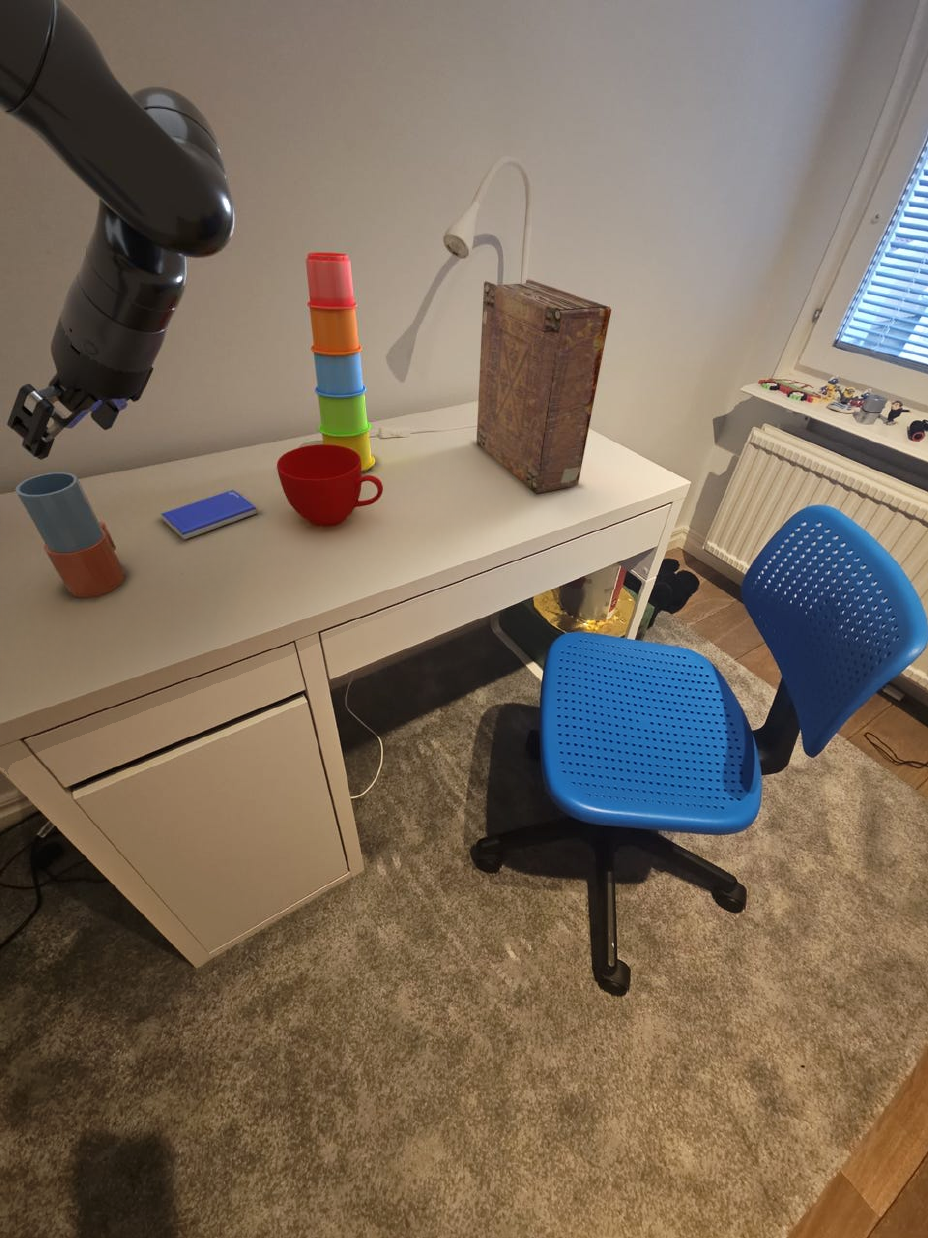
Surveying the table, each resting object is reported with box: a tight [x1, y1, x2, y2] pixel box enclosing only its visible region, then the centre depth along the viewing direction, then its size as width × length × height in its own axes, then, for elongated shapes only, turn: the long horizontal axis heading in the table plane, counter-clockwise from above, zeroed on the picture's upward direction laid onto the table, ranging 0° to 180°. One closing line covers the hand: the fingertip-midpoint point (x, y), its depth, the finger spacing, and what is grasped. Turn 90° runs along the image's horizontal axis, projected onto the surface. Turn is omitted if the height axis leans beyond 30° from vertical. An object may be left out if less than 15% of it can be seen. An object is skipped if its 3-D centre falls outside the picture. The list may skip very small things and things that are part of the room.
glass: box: [15, 471, 103, 553], centre depth 68 cm, size 6×6×8 cm
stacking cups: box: [305, 251, 376, 473], centre depth 95 cm, size 10×10×35 cm
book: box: [476, 278, 612, 495], centre depth 99 cm, size 25×9×30 cm, turn 25°
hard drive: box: [160, 489, 258, 541], centre depth 89 cm, size 2×8×12 cm
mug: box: [43, 521, 126, 598], centre depth 74 cm, size 10×7×7 cm
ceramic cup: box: [276, 443, 384, 528], centre depth 87 cm, size 13×17×10 cm
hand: (69, 436), depth 59 cm, fingers open, 8 cm apart
